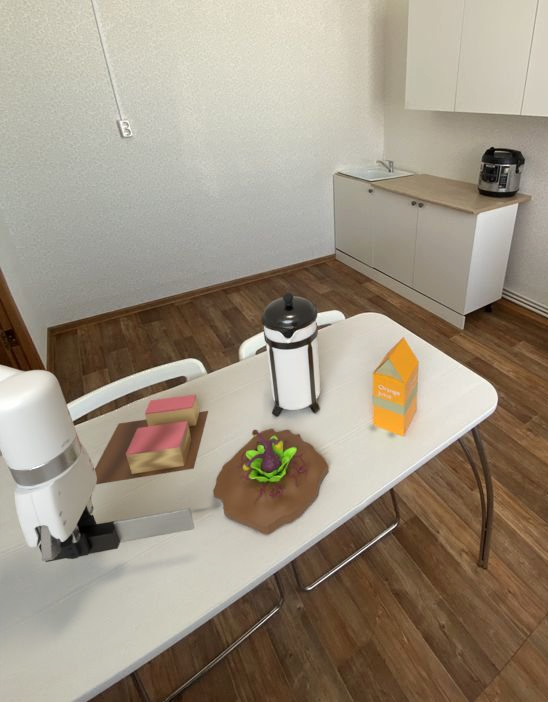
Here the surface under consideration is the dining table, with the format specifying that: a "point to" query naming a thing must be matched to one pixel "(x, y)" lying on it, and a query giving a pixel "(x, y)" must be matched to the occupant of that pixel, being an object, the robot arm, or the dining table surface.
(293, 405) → the coffee press
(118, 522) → the knife
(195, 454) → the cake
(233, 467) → the plant
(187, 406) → the cake slice
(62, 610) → the dining table surface
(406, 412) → the orange juice
